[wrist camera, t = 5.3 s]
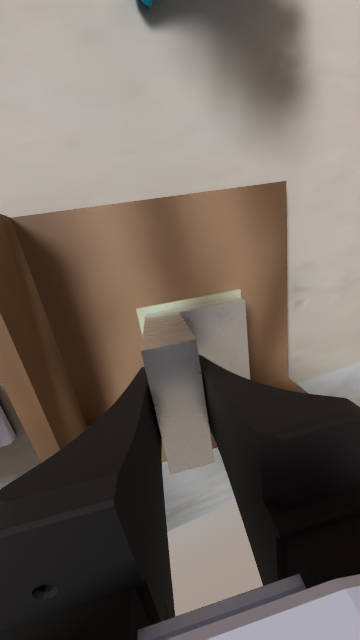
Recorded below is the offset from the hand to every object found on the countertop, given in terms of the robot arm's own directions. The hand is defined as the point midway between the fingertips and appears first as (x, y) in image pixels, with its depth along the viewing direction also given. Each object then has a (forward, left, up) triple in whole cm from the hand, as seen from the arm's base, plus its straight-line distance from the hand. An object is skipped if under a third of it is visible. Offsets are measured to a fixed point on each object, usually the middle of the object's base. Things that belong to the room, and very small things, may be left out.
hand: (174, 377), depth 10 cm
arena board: (0, +2, -4) cm, 4 cm away
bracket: (+2, 0, -3) cm, 3 cm away
